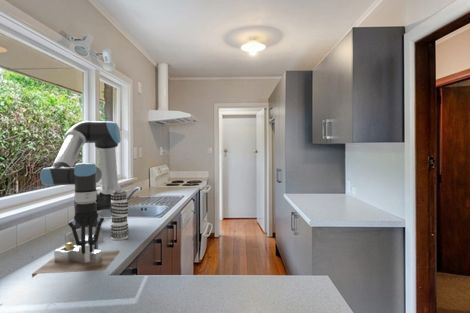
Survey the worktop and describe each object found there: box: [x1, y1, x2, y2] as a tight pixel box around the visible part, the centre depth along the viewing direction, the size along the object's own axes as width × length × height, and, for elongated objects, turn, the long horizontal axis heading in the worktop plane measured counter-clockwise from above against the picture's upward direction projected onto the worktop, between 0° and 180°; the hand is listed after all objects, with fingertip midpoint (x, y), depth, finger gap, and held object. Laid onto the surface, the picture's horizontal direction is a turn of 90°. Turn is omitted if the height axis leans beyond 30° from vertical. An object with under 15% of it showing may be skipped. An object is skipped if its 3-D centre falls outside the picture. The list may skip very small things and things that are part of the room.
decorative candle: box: [109, 189, 129, 241], centre depth 148 cm, size 9×9×25 cm
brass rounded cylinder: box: [66, 242, 74, 251], centre depth 118 cm, size 3×3×8 cm
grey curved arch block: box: [64, 227, 105, 246], centre depth 136 cm, size 17×5×10 cm, turn 134°
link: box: [53, 245, 102, 264], centre depth 116 cm, size 19×7×6 cm, turn 74°
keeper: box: [80, 235, 99, 250], centre depth 120 cm, size 8×5×9 cm, turn 6°
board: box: [31, 250, 121, 278], centre depth 115 cm, size 20×26×1 cm
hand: (87, 260), depth 111 cm, fingers closed
